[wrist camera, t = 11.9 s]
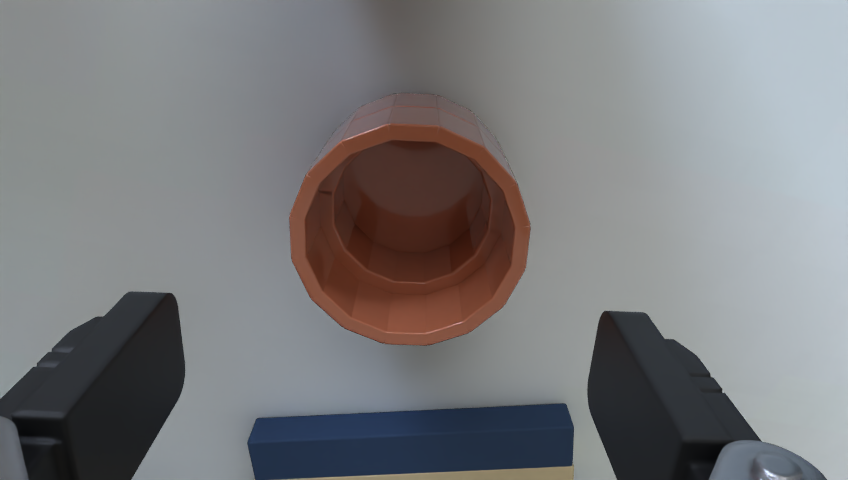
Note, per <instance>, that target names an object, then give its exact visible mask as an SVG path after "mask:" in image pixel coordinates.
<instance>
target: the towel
mask: <svg viewBox="0 0 848 480" xmlns="http://www.w3.org/2000/svg"><path fill="white" fill-rule="evenodd" d="M573 438H574V426H573V423H572V420H571V417H570V414H569V411H568V408H567V405H566V404H546V405H525V406H504V407H483V408H462V409H442V410H421V411H400V412H379V413H358V414H338V415H317V416H296V417H275V418H258V419H256V421H255V424H254V427H253V429H252V432H251V434H250V437H249V439H248V442H247V444H248V448H249V453H250V457H251V462H252V466H253V471H254V475H255V479H254V480H573V477H574V465H573Z"/></svg>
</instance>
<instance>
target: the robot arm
mask: <svg viewBox="0 0 848 480" xmlns="http://www.w3.org/2000/svg"><path fill="white" fill-rule="evenodd" d="M184 378H185V360H184V352H183V344H182V336H181V328H180V319H179V311H178V304H177V300H176V298H175V296H174V295H173V294H172V293H157V292H128V293H126V294H125V295H124V296H123V297H122V298H121V299H120V300H119V301H118V303H117V304H116V305H115V306H114V307H113V308H112V309H111V310H110V311H109V312H108V313H107V314H106V315H105V316H104V317H95V318H93V319H91V320H90V321H88V322H86V323H84V324H82V325H80V326H78V327H77V328H75V329H73V330H71V331H70V332H69V333H68V334H66V335H65V336H64V337H63V338H62V339H61V340H60V341H59V342H58V343H57V344H56V345H55V346H54V347H53V348H52V352H48V353H47V354H46V355H45V356H44V357H43V358H42V359H41V360H40V361H39V362H38V363H37V367H33V368H32V369H31V370H30V371H29V372H28V373H27V374H26V375H25V376H24V377H23V378H22V379H21V380H20V381H19V382H17V383H16V384H15V385H14V386H13V387H12V388H11V389H10V390H9V391H8V392H7V393H6V394H5V395H4V396H3V397H2V398H1V399H0V480H131V479H132V477H133V475H134V474H135V472H136V470H137V469H138V467H139V465H140V464H141V462H142V460H143V458H144V457H145V455H146V453H147V452H148V450H149V448H150V447H151V445H152V443H153V441H154V440H155V438H156V436H157V435H158V433H159V431H160V429H161V428H162V426H163V424H164V423H165V421H166V419H167V418H168V416H169V414H170V412H171V411H172V409H173V407H174V406H175V404H176V402H177V401H178V399H179V397H180V394H181V392H182V388H183V384H184ZM588 404H589V409H590V413H591V416H592V418H593V421H594V423H595V426H596V428H597V431H598V433H599V435H600V438H601V440H602V443H603V445H604V448H605V450H606V453H607V455H608V458H609V460H610V463H611V465H612V468H613V470H614V473H615V475H616V478H617V480H827V479H826V478H825V477H824V475H823V474H822V473H821V472H820V471H819V470H818V469H817V468H815V467H814V466H813V465H812V464H810V463H809V462H808V461H806V460H805V459H803V458H802V457H800V456H798V455H796V454H795V453H793V452H791V451H789V450H786V449H784V448H782V447H779V446H776V445H773V444H769V443H766V442H762V441H761V440H760V439H759V437H758V436H757V435H756V433H755V432H754V431H753V430H752V428H751V427H750V426H749V424H748V423H747V422H746V420H745V419H744V418H743V416H742V415H741V414H740V412H739V411H738V410H737V408H736V407H735V406H734V404H733V403H732V402H731V400H730V399H729V398H728V396H727V395H726V394H725V393H722V388H721V387H720V386H719V384H718V383H717V382H716V380H715V379H714V378H712V377H710V373H709V371H708V370H707V369H706V367H705V366H704V365H703V363H702V362H701V361H700V359H699V358H698V357H697V355H695V354H694V353H692V352H691V351H689V350H688V349H687V348H685V347H684V346H682V345H681V344H680V343H678V342H677V341H675V340H674V339H664V338H663V336H662V335H661V333H660V332H659V330H658V329H657V328H656V326H655V325H654V323H653V322H652V320H651V319H650V318H649V316H648V315H647V314H646V313H643V312H620V311H604V312H603V313H602V315H601V317H600V320H599V324H598V329H597V334H596V340H595V345H594V351H593V356H592V362H591V367H590V373H589V378H588Z"/></svg>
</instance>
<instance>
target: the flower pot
mask: <svg viewBox="0 0 848 480" xmlns="http://www.w3.org/2000/svg"><path fill="white" fill-rule="evenodd" d="M289 223H290V244H291V259H292V262H293V264H294V266H295V268H296V270H297V272H298V274H299V276H300V278H301V280H302V282H303V284H304V286H305V288H306V290H307V292H308V294H309V296H310V298H311V299H312V300H313V301H314V302H315V303H316V304H317V305H318V306H319V307H320V308H321V309H323V310H324V311H325V312H326V313H327V314H328V315H329V316H330V317H332V318H333V319H334V320H335V321H336V322H337V323H338V324H339V325H340V326H342V327H344V328H345V329H347V330H350V331H352V332H355V333H357V334H360V335H362V336H365V337H367V338H370V339H373V340H375V341H378V342H380V343H385V344H397V345H423V346H427V345H432V344H435V343H438V342H441V341H445V340H448V339H451V338H454V337H458V336H461V335H464V334H467V333H469V332H471V331H473V330H474V329H475V328H476V327H478V326H479V325H480V324H482V323H483V322H484V321H486V320H487V319H488V318H489V317H491V316H492V315H493V314H495V313H496V312H497V311H499V310H500V309H501V308H502V307H503V306H504V305H505V304H506V302H507V300H508V298H509V297H510V295H511V293H512V292H513V290H514V288H515V287H516V285H517V283H518V281H519V280H520V278H521V276H522V275H523V273H524V271H525V268H526V263H527V255H528V246H529V238H530V229H531V227H530V221H529V218H528V215H527V212H526V209H525V205H524V202H523V199H522V196H521V193H520V190H519V187H518V184H517V182H516V179H515V177H514V175H513V173H512V171H511V168H510V166H509V164H508V162H507V160H506V158H505V156H504V153H503V151H502V149H501V147H500V145H499V142H498V141H497V139H496V138H495V136H494V135H493V134H492V133H491V132H490V131H489V130H488V129H487V127H486V126H485V125H484V124H483V123H482V122H481V121H480V120H479V118H478V117H477V116H476V115H475V114H474V113H472V111H471V110H469V109H467V108H464V107H462V106H460V105H458V104H456V103H454V102H452V101H450V100H448V99H445V98H443V97H441V96H439V95H434V94H414V93H398V94H397V93H395V94H392V95H389V96H387V97H384V98H381V99H379V100H376V101H373V102H371V103H368V104H365V105H362V106H361V107H359V108H358V109H357V110H356V111H355V112H354V113H353V114H352V115H351V116H350V117H349V118H347V119H346V120H345V121H344V122H343V123H342V124H341V125H340V126H339V127H338V128H337V129H336V130H335V131H334V132H333V134H332V135H331V137H330V138H329V140H328V141H327V143H326V144H325V146H324V147H323V149H322V151H321V152H320V154H319V155H318V157H317V158H316V160H315V161H314V163H313V164H312V166H311V167H310V169H309V171H308V172H307V174H306V175H305V178H304V180H303V183H302V185H301V188H300V190H299V192H298V195H297V197H296V200H295V202H294V205H293V207H292V210H291V212H290V217H289Z"/></svg>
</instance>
